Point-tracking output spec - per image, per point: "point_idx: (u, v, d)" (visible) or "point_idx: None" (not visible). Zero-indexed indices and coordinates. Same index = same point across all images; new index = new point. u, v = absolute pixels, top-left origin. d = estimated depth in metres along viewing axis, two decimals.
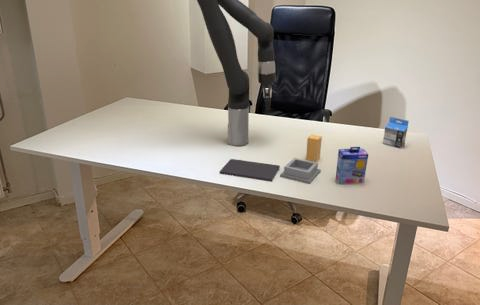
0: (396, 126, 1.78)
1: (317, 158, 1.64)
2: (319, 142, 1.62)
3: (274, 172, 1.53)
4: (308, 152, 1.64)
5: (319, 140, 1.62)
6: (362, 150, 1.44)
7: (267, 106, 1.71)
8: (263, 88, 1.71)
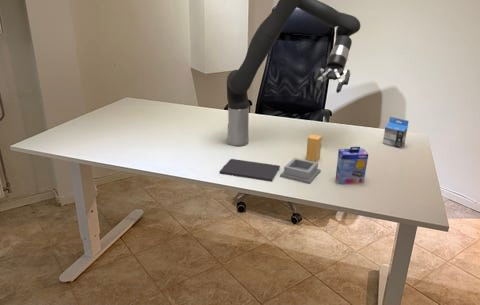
0: (396, 126, 1.78)
1: (317, 158, 1.64)
2: (319, 142, 1.62)
3: (274, 172, 1.53)
4: (308, 152, 1.64)
5: (319, 140, 1.62)
6: (362, 150, 1.44)
7: (341, 87, 1.63)
8: (337, 70, 1.66)
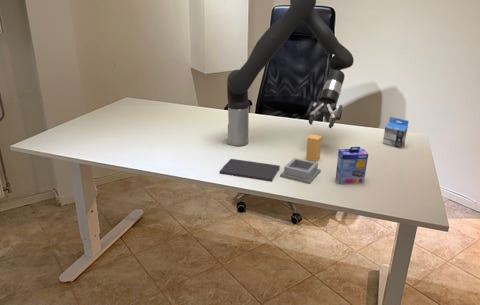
0: (396, 126, 1.78)
1: (317, 158, 1.64)
2: (319, 142, 1.62)
3: (274, 172, 1.53)
4: (308, 152, 1.64)
5: (319, 140, 1.62)
6: (362, 150, 1.44)
7: (333, 123, 1.64)
8: (329, 105, 1.67)
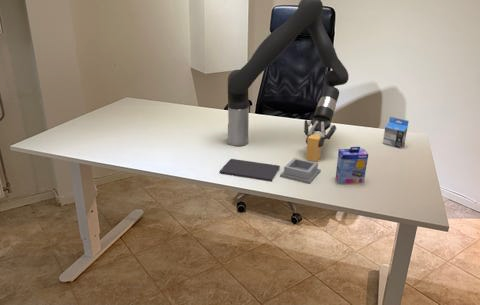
0: (396, 126, 1.78)
1: (317, 158, 1.64)
2: None
3: (274, 172, 1.53)
4: (308, 152, 1.64)
5: (319, 140, 1.62)
6: (362, 150, 1.44)
7: (323, 142, 1.62)
8: (324, 123, 1.64)
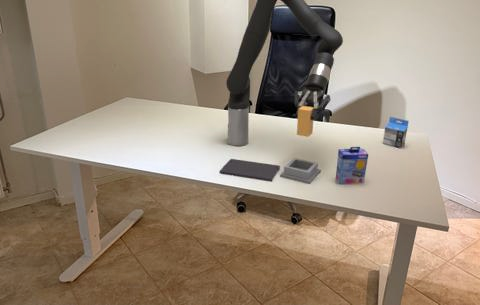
0: (396, 126, 1.78)
1: (309, 132, 1.46)
2: None
3: (274, 172, 1.53)
4: (299, 126, 1.45)
5: (311, 112, 1.43)
6: (362, 150, 1.44)
7: (315, 114, 1.43)
8: (316, 93, 1.45)
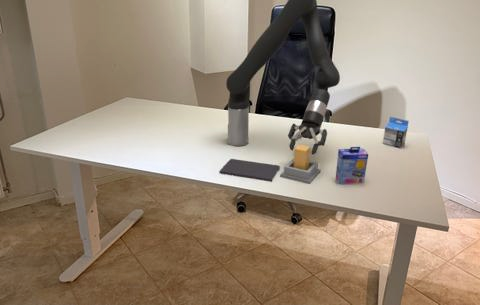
0: (396, 126, 1.78)
1: None
2: (307, 153, 1.49)
3: (274, 172, 1.53)
4: (295, 164, 1.51)
5: (307, 151, 1.48)
6: (362, 150, 1.44)
7: (316, 149, 1.47)
8: (312, 129, 1.50)
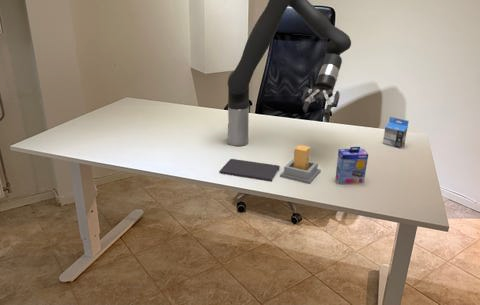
0: (396, 126, 1.78)
1: None
2: (307, 153, 1.49)
3: (274, 172, 1.53)
4: (295, 164, 1.51)
5: (307, 151, 1.48)
6: (362, 150, 1.44)
7: (329, 110, 1.52)
8: (325, 91, 1.55)
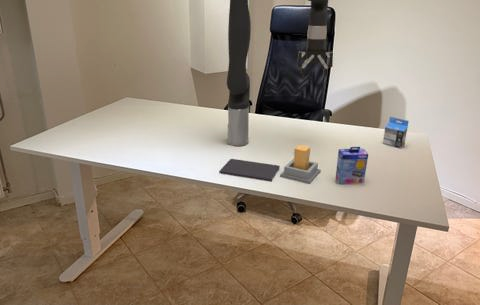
0: (396, 126, 1.78)
1: None
2: (307, 153, 1.49)
3: (274, 172, 1.53)
4: (295, 164, 1.51)
5: (307, 151, 1.48)
6: (362, 150, 1.44)
7: (326, 72, 1.64)
8: (320, 55, 1.60)
